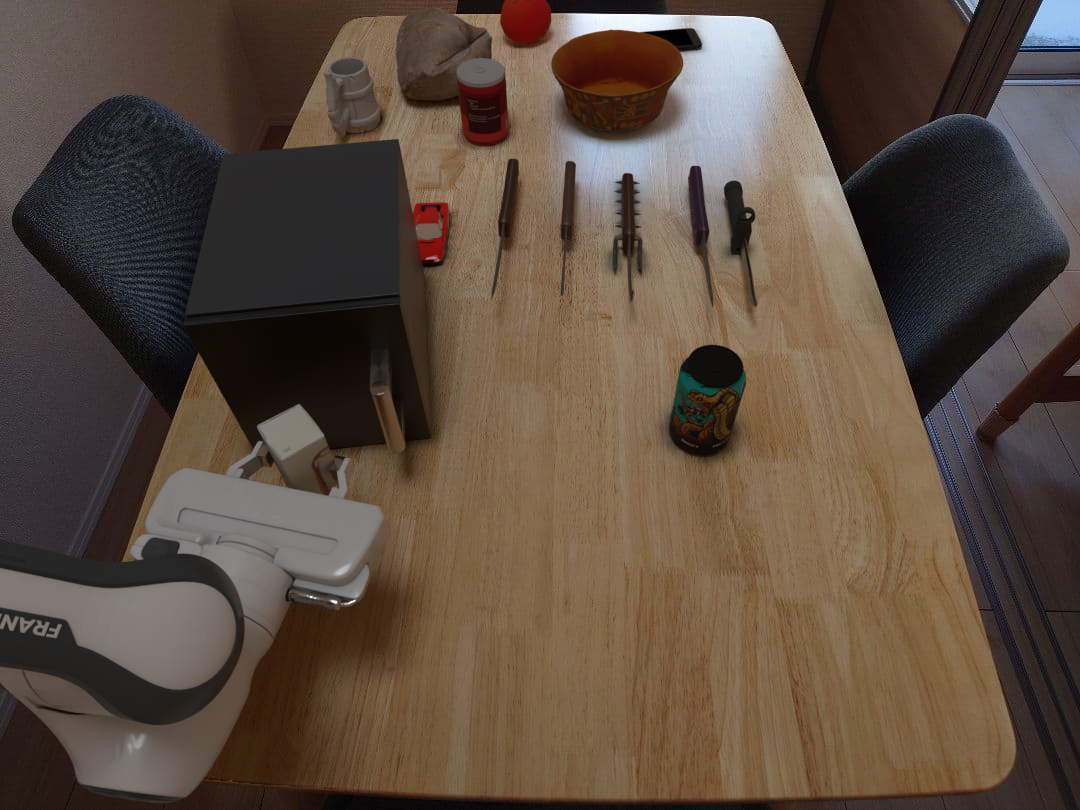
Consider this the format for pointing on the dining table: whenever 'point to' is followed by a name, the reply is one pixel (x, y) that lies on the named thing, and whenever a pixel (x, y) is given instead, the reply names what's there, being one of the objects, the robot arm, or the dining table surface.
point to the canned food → (483, 101)
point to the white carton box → (299, 451)
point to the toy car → (432, 230)
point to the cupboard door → (318, 369)
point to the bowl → (616, 77)
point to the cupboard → (313, 236)
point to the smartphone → (679, 37)
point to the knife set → (698, 215)
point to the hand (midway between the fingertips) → (306, 452)
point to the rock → (436, 52)
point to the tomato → (525, 20)
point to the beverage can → (707, 399)
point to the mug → (351, 96)
